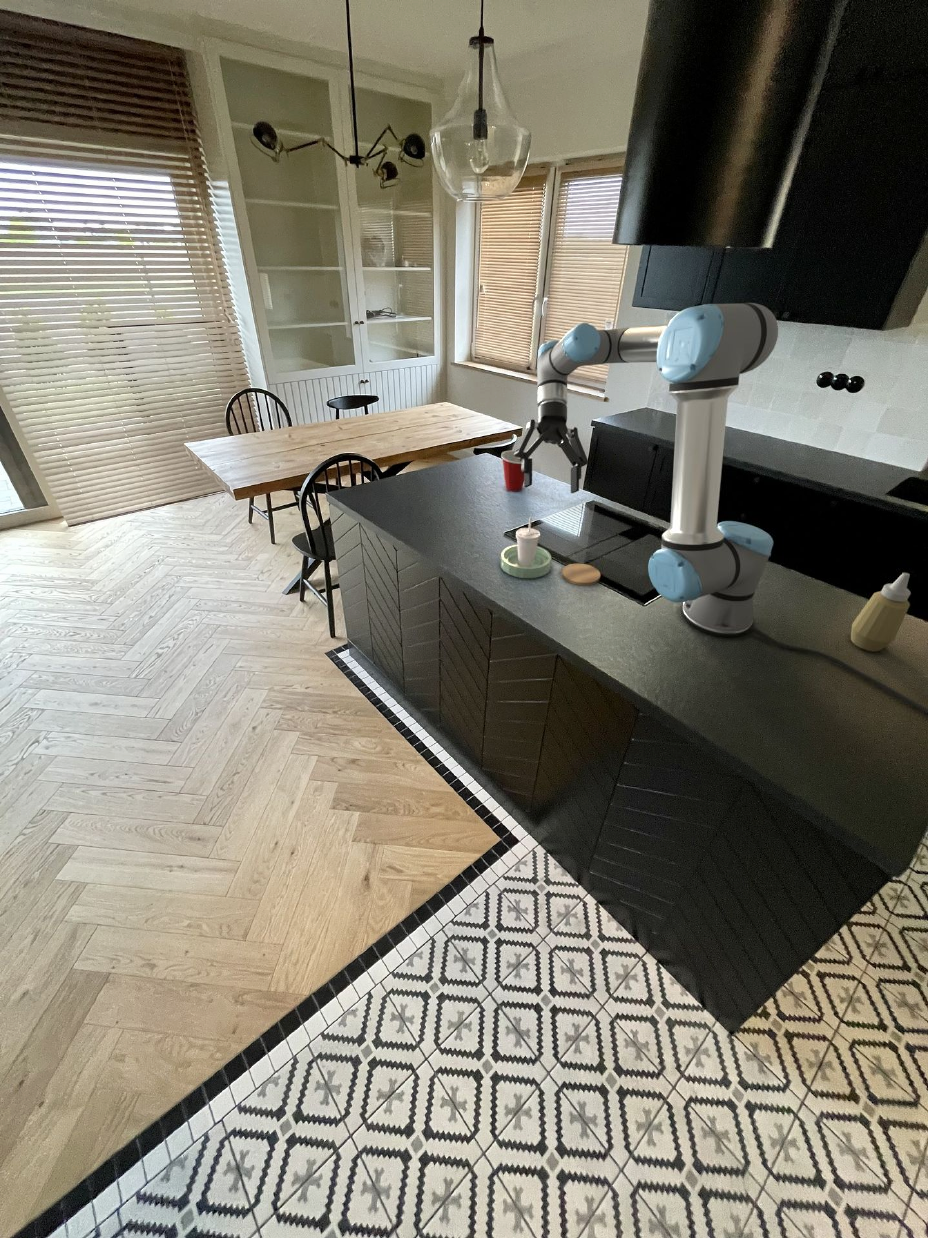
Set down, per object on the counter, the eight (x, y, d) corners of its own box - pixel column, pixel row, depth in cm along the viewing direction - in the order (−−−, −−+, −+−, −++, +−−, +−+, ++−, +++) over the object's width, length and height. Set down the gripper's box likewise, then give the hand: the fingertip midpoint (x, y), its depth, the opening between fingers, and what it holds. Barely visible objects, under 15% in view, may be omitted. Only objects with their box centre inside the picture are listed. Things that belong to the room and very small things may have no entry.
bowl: (560, 569, 143) (561, 559, 141) (522, 584, 136) (523, 573, 134) (527, 549, 151) (528, 539, 149) (490, 563, 145) (491, 552, 143)
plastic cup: (519, 497, 182) (521, 462, 175) (493, 489, 187) (494, 455, 180) (535, 487, 189) (538, 454, 182) (510, 480, 195) (512, 447, 187)
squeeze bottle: (887, 660, 113) (932, 588, 102) (844, 647, 116) (883, 577, 106) (887, 640, 119) (929, 571, 108) (845, 628, 122) (882, 560, 111)
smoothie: (541, 563, 144) (546, 516, 136) (530, 573, 140) (535, 525, 132) (520, 557, 147) (524, 510, 139) (509, 567, 143) (512, 519, 135)
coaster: (608, 577, 139) (608, 575, 139) (581, 589, 134) (581, 586, 134) (580, 562, 146) (580, 559, 145) (553, 572, 141) (554, 570, 141)
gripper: (585, 419, 143) (584, 497, 142) (501, 403, 134) (500, 487, 133) (602, 408, 136) (602, 490, 135) (515, 391, 127) (514, 478, 126)
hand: (551, 489), depth 134 cm, fingers open, 13 cm apart
